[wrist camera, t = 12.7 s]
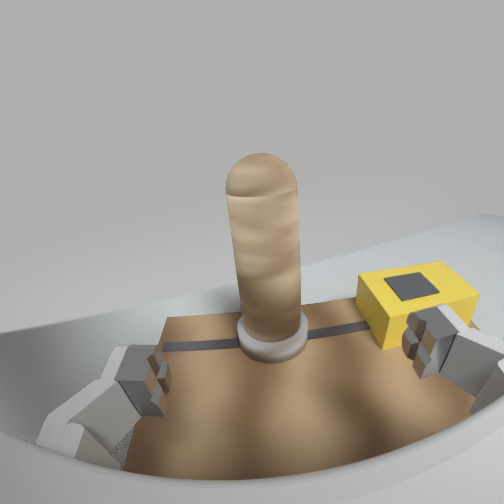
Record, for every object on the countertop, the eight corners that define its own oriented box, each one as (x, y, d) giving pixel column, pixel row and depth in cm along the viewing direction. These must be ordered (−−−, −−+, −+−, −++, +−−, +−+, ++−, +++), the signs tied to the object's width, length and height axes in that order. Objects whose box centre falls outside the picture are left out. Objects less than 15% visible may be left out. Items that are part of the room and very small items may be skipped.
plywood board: (128, 550, 6) (109, 545, 5) (172, 334, 25) (167, 316, 24) (537, 444, 6) (553, 427, 5) (429, 299, 24) (434, 281, 24)
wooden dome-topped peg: (239, 366, 18) (206, 163, 12) (240, 321, 22) (217, 154, 17) (313, 358, 18) (313, 153, 12) (301, 315, 22) (295, 147, 17)
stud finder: (382, 350, 17) (390, 315, 16) (355, 304, 23) (358, 272, 22) (469, 323, 17) (480, 292, 16) (435, 288, 23) (441, 259, 21)
